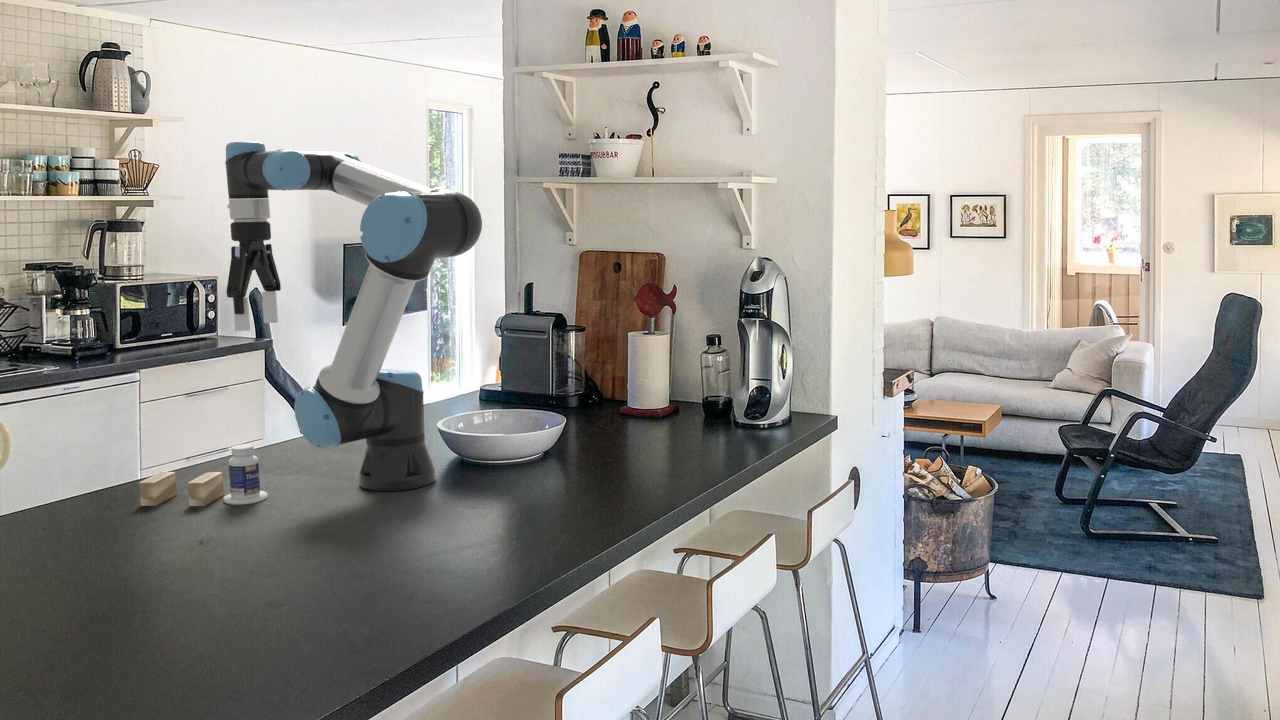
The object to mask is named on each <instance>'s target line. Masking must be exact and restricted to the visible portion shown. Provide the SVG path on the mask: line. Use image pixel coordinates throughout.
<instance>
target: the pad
mask: <svg viewBox="0 0 1280 720" xmlns="http://www.w3.org/2000/svg"><path fill="white" fill-rule="evenodd" d="M268 498H269V496H268V492H267V491H264V490H260V494H259V495H258V496H256V497H253V498H248V499H236V498H232V497H231V493H229V494H226V495H225V496H224V495H223V503H225V504H227V505H233V506H234V505H236V506H239V505H240V506H241V505H242V506H243V505H251V504H256V503H259V502H262V501H265V500H267V499H268Z"/></svg>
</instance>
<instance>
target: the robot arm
mask: <svg viewBox="0 0 1280 720" xmlns="http://www.w3.org/2000/svg"><path fill="white" fill-rule="evenodd" d="M224 163H225V169H226V181H227V193H228V204H227V208H228V209H229V217H230V218H229V219H231V220H233V222H231V223H230V239H231V240H232V241H233V242H239V244H238V245H239V246H231V248H230V252H231V253H230V255H231V259H230V265H229V273H228V278H227V286H226V297H227V298H228V299H229V298H231V299H232V302H233V303H232V304H233V306H232V307H233V317H234V319H233V320H234V331H236V332H239V331H240V332H246V331H247V332H250V331H251V321H250V307H249V304H250V303H249V297H248V296H247V291H248V289H249V284H250V281H251V277H252V273H253V271H254V270H255V273H256V275H257V277H258V279H259V281H260V284H261V286H262V289H263V290H264V291H263V290H262V291H261V297H262V299H261V300H262V301H261V302H262V316H263V324H269V323H270V324H272V323H274V324H277V323H279V319H278V318H279V317H278V316H279V315H278V304H277V303H278V302H277V292H279V291H281V289H282V286H281V280H280V277H279V272H278V269H277V266H276V265H277V264H276V263H275V262H276V261H275V258H274V254H273V248H272V244H271V243H264V242H265V241H270V240H271V239H272V231H271V230H272V229H271V223H270V222H269V221H268V220H269V219H270V218H271V212H270V199H269V191H283V192H284V191H304V190H305V191H307V190H309V191H330V192H333V193H335V194H338V195H340V196H343V197H346V198H348V199H350V200H353V201H355V202H357V203H360V204H363V205H365V206H366V208H365V210H364V211H363V214H362V216H361V218H360V219H361V220H360V225H359V231H360V232H361V233H362V235H361V236H360V241H361V244H362V247H363V249H364V251H365V252H364V255H365V256H364V257H365V258H366V260H367V262H368V264H369V265H368V267H367V270H366V273H365V275H364V278H363V281H362V284H361V286H360V289H359V291H358V294H357V296H356V300H355V302H354V305H353V307H352V309H351V312H350V314H349V318H348V321H347V323H346V326H345V328H344V330H343V331H344V332H343V334H342V337H341V338H340V341H339V344H338V346H337V350H336V353H335V354H334V358H333V360H332V363H331V364H328V365H326V366H324V367H323V368H322V369H320V371H319V373H318V375H317V379H316V381H315V384H314V386H313V387H305V388H304V389H301V390H300V391H299V392H298V393H297V394H296V397H295V401H294V406H293V407H294V416H295V417H294V418H295V420H296V423H297V427H298V430H299V431H300V433H301V435H302V436H303V437H304V439H305V440H306V441H307V442H308V443H309V444H311V445H312V446H313V447H316V448H319V449H325V448H326V449H327V448H332V447H333V448H336V447H339V446H342V445H346V444H351V443H354V442H358V441H363V440H365V450H364V453H363V456H362V457H363V458H362V462H361V464H360V468H359V471H358V484H359V486H360V487H361V488H363V489H366V490H369V491H376V492H379V491H380V492H386V491H387V492H392V491H395V492H398V491H405V490H412V489H413V490H414V489H419V488H422V487H425V486H428V485H430V484H432V483H434V482H435V481H436V471H435V470H436V468H435V465H434V463H433V461H432V458H431V455H430V452H429V450H428V447H427V444H426V440H425V437H426V436H425V435H426V434H425V420H424V419H425V416H424V415H425V413H424V405H425V404H424V392H425V391H424V390H423V382H422V380H423V379H422V377H421V375H420V373H418V372H416V371H414V370H413V371H412V370H406V369H392V368H382V367H383V365H384V361H385V359H386V357H387V355H388V352H389V349H390V347H391V345H392V343H393V339H394V337H395V334H396V332H397V330H398V327H399V324H400V322H401V320H402V317H403V315H404V312H405V311H406V307H407V305H408V302H409V300H410V299H411V295H412V293H413V290H414V287H415V286H416V283H417V282H421V281H424V280H426V279H427V277H428V276H429V274H430V271H431V269H432V267H433V265H434V262H435V260H436V259H442V258H452V257H456V256H460V255H463V254H465V253H467V252H468V251H470V250H471V249H472V248H473V247H474V246H475V245H476V243H477V242H478V241H479V239H480V236H481V233H482V229H483V219H482V215H481V212H480V209H479V207H478V205H477V204H476V203H475V202H474V201H473V200H472V198H470V197H469V196H468V195H466V194H463V193H460V192H457V191H454V190H451V189H448V188H447V187H441V186H439V187H434V188H430V187H428V186H425V185H422V184H420V183H417V182H414V181H412V180H409V179H407V178H403V177H400V176H398V175H395V174H393V173H390V172H387V171H385V170H382V169H379V168H376V167H374V166H371V165H369V164H366V163H363V162H362V161H361V160H360V158H359V156H357V155H355V154H353V153H351V152H350V153H349V152H344V151H330V152H329V151H301V150H294V149H283V148H281V149H277V150H266V146H265V144H264V143H262V142H260V141H258V142H257V141H233V142H232V141H231V142H229V143H227V144H226V145H225V162H224ZM246 296H247V297H246Z"/></svg>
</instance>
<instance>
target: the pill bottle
mask: <svg viewBox="0 0 1280 720" xmlns="http://www.w3.org/2000/svg"><path fill="white" fill-rule="evenodd" d="M254 451H255V448H254V444H250V443H249V444H247V443H246V444H245V443H243V444H237V445H233V446H231V455H232V456H233V457H232V456H231V458H230V459H229V460H228V472H229V473H228V476H229V487H230V494H231V497H232V498H236V499H248V498H253V497H256V496H258V495H259V494H260V491H261V483H260V482H261V480H260V467H259V463H260V462H259V458H258V457H257V456H256V455H254V453H255V452H254Z"/></svg>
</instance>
